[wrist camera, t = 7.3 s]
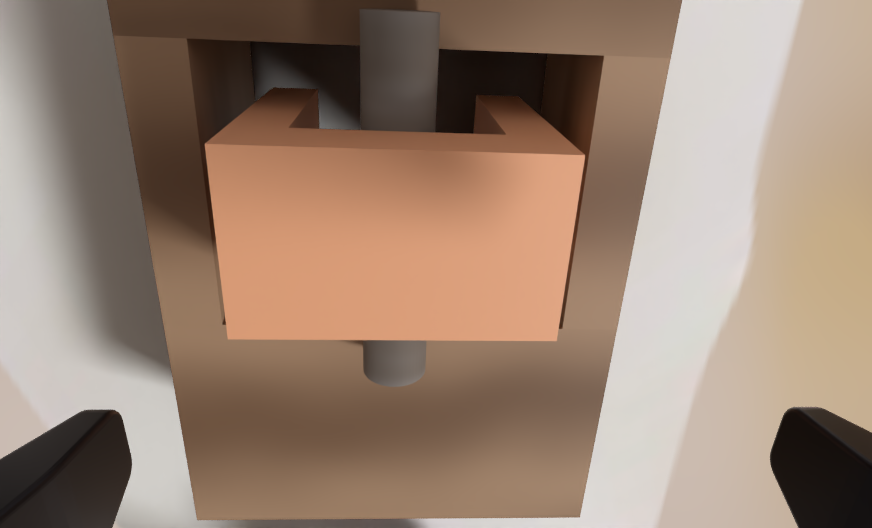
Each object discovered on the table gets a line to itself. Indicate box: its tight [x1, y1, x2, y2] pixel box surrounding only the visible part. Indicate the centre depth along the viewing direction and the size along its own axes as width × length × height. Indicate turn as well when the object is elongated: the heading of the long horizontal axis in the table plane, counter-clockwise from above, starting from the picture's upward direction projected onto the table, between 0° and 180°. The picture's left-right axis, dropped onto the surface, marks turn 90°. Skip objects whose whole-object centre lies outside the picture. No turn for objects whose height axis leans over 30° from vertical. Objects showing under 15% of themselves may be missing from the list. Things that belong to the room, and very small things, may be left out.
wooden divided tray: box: [107, 0, 682, 520], centre depth 17 cm, size 16×12×7 cm
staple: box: [205, 87, 585, 341], centre depth 14 cm, size 7×4×6 cm, turn 87°
